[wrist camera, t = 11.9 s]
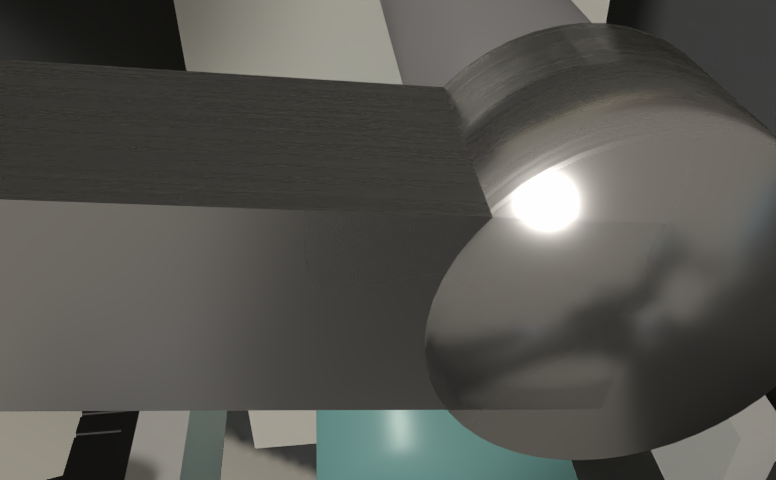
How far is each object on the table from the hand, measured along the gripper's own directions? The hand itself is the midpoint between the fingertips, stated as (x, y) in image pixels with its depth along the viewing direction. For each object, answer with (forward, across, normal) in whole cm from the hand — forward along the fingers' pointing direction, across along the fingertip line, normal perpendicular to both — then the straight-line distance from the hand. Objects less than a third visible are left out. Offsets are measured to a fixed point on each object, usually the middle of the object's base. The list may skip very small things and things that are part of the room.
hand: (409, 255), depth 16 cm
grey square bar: (-8, +5, -8) cm, 12 cm away
